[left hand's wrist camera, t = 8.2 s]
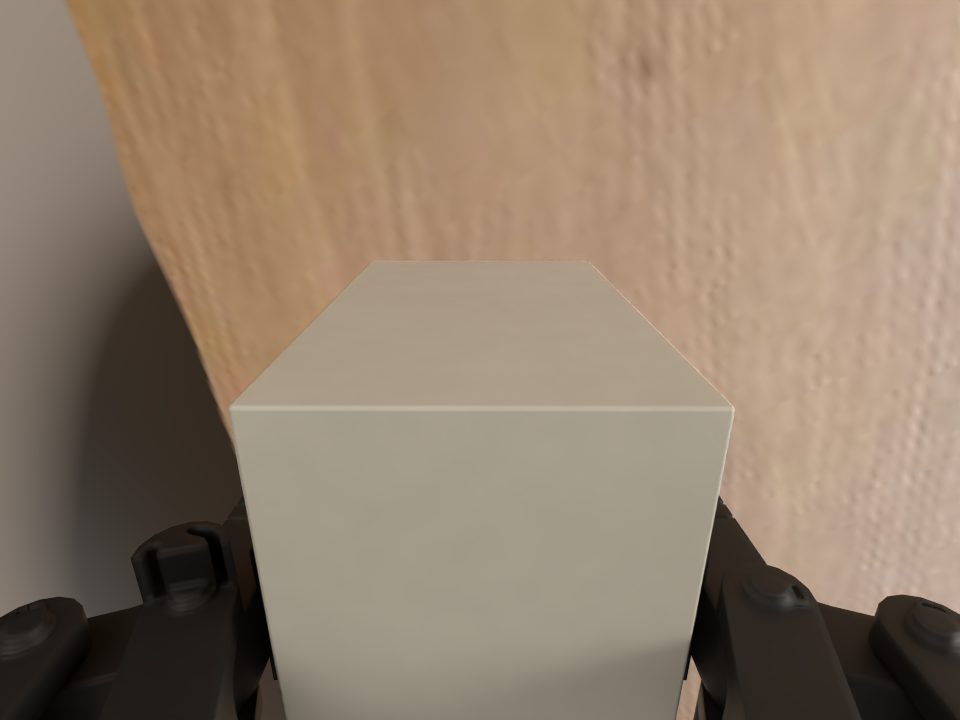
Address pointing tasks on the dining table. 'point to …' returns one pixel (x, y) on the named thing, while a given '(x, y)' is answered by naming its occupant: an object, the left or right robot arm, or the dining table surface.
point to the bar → (480, 498)
